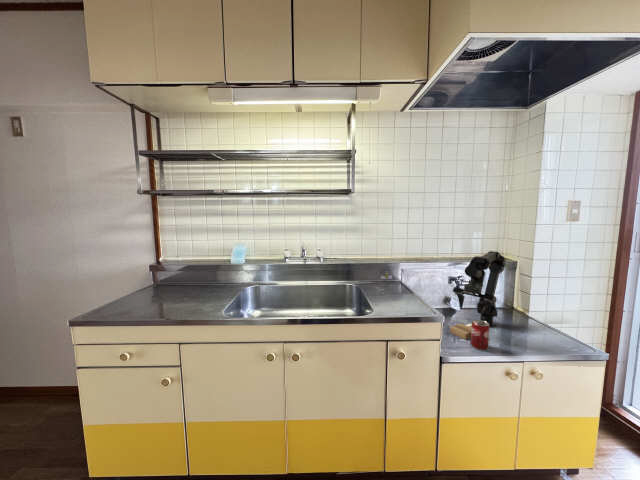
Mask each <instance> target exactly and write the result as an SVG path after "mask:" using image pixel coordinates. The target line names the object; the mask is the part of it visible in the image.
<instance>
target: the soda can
mask: <svg viewBox="0 0 640 480" xmlns="http://www.w3.org/2000/svg"><path fill="white" fill-rule="evenodd" d="M471 324H472V325H471V338H470V346H471V347H472V348H473V349H475V350H478V351H487V350H488V349H489V341H490V328H491V327H490V325H489V323H487V322H485V321H482V320H480V319H474V320H472V321H471Z"/></svg>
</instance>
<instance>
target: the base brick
mask: <svg viewBox="0 0 640 480" xmlns="http://www.w3.org/2000/svg"><path fill="white" fill-rule="evenodd" d="M466 325H467V324H463V323H459V324H456V325H455V324H454V325H453V326H450V327H449V333H451V334H453V335H455V336H457V337H459V338H461V339H463V340H466V341H467V340H469V339H471V327H468V326H466Z"/></svg>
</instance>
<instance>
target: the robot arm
mask: <svg viewBox="0 0 640 480" xmlns="http://www.w3.org/2000/svg"><path fill="white" fill-rule="evenodd" d="M506 266H507V260H506V258H505V257H504V256H503V255H501V254H500V252H499V251H493V250H490V251H487V253H485V254H483V255H480V256H479V255H478V256H477V255H475V256H473V258H472V259H471V261H470V262H469V264H468V266H466V267H465V269H464V273H465V275H466V276H467V277H468V278H470V280H469V281H468V282H467V284H464V285H463V288H462V287H458V286H457V287H456V286H455V287H453V288H452V292H453V293H454V295H456V296H457V298H458V304H459V309H460V310H462V308H463V306H464V301H465V295H467V296H473V297H476V298H479V300H478V302H477V304H476V310H477V313H478V314H479V315H480V317H479V318H480V319H479V320H482V321H485V322H487V323H489V325H490V328H492V327H494V326H496V325H497V324H496V323H494V318H495V317H498V313H499V312H498V311H499V310H498V309H497V304H496V303H497V299H498V298H497V296H495V293H496V291H497V290H496V289H497V285H498V282H499V281H498V280H499V276H500V275H501V274H502V272H504V271H505V268H506ZM488 269H489V274H488V278H487V282H486V286H485V291H484V294H482V289H483V287H484V280H485V277H486V272H485V271H486V270H488Z"/></svg>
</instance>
